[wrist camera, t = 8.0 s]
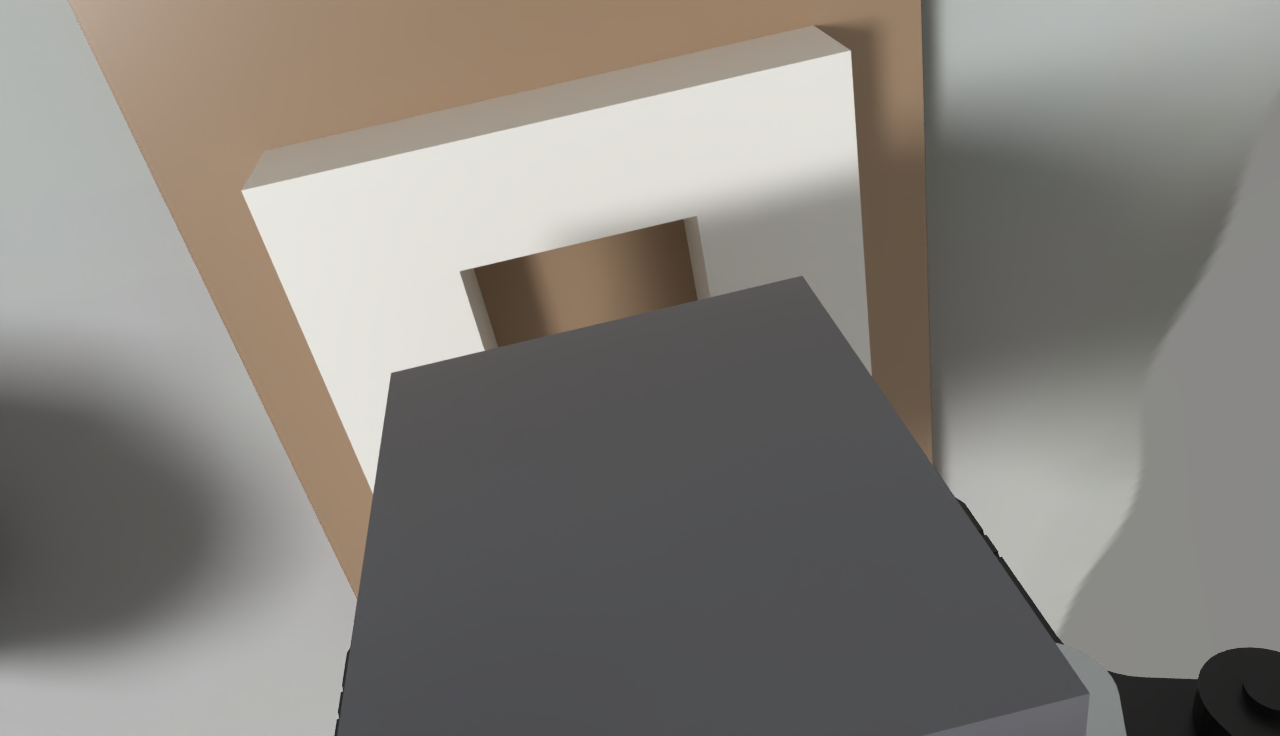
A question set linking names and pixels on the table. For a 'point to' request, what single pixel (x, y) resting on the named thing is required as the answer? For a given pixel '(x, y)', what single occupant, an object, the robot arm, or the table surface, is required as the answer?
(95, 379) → the table surface
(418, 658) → the plug
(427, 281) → the socket
